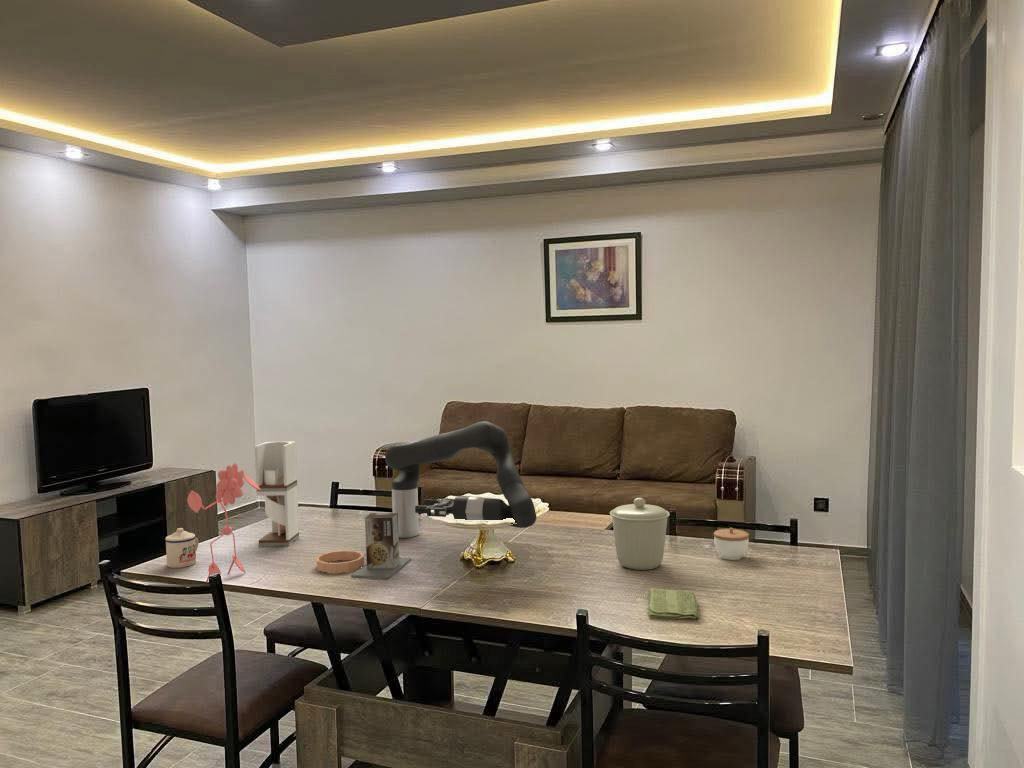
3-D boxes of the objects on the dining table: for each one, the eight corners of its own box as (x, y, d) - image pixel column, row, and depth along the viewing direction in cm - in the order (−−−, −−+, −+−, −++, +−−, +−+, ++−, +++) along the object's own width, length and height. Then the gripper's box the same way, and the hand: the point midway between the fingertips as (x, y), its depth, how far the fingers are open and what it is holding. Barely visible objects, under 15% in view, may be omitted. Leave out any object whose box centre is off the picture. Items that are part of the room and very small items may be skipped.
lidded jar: (713, 560, 242) (712, 531, 241) (714, 551, 252) (714, 523, 251) (748, 563, 239) (748, 533, 238) (749, 553, 249) (749, 525, 248)
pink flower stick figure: (182, 590, 222) (179, 470, 220) (244, 566, 246) (242, 456, 244) (224, 597, 216) (222, 473, 214) (284, 571, 240) (282, 459, 238)
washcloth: (647, 621, 193) (647, 608, 193) (647, 597, 211) (647, 585, 210) (701, 623, 191) (701, 610, 191) (696, 599, 208) (696, 587, 208)
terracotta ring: (329, 558, 252) (328, 549, 252) (370, 560, 249) (370, 551, 249) (308, 572, 238) (308, 562, 238) (352, 574, 235) (352, 564, 235)
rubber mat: (376, 558, 252) (376, 556, 252) (411, 559, 249) (411, 557, 249) (351, 577, 232) (351, 575, 232) (389, 578, 230) (389, 576, 230)
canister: (679, 562, 241) (678, 495, 240) (655, 578, 226) (655, 506, 225) (625, 554, 251) (625, 489, 250) (600, 568, 236) (599, 500, 235)
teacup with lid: (182, 569, 243) (180, 533, 243) (159, 567, 246) (158, 531, 246) (209, 559, 255) (207, 524, 254) (187, 556, 258) (185, 522, 257)
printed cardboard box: (400, 563, 244) (398, 512, 243) (394, 569, 237) (393, 517, 236) (372, 562, 245) (370, 512, 244) (365, 568, 238) (364, 517, 237)
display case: (270, 537, 281) (266, 441, 279) (299, 537, 281) (295, 441, 278) (258, 546, 270) (254, 446, 268) (288, 545, 269) (285, 445, 267)
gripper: (477, 491, 242) (427, 489, 246) (463, 501, 229) (412, 498, 232) (477, 515, 243) (428, 512, 247) (464, 526, 229) (412, 523, 233)
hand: (420, 506), depth 239 cm, fingers open, 8 cm apart
